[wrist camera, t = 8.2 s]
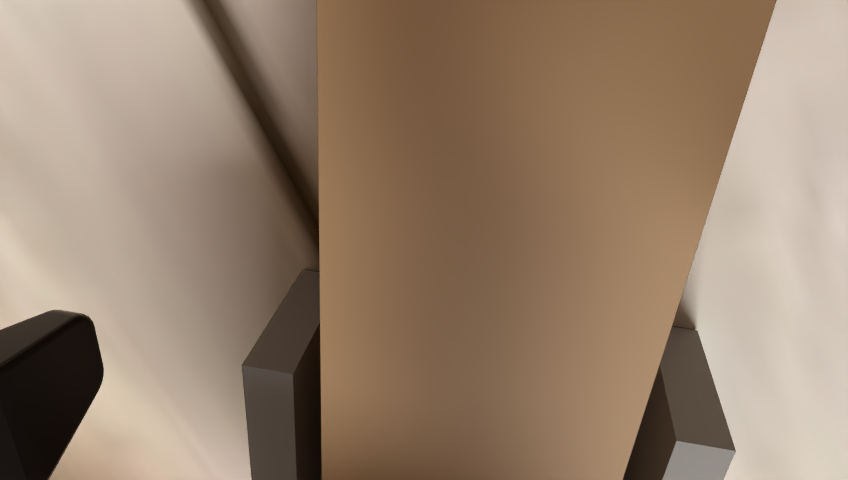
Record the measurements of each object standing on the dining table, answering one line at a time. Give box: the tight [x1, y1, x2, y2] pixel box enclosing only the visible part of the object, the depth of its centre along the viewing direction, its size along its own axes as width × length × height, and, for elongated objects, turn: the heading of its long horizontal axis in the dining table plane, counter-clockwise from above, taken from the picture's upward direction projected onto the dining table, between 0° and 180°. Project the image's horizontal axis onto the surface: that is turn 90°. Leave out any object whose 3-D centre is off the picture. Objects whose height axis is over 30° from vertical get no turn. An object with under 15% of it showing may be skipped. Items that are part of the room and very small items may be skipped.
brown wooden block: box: [317, 0, 776, 480], centre depth 11 cm, size 5×14×5 cm, turn 176°
